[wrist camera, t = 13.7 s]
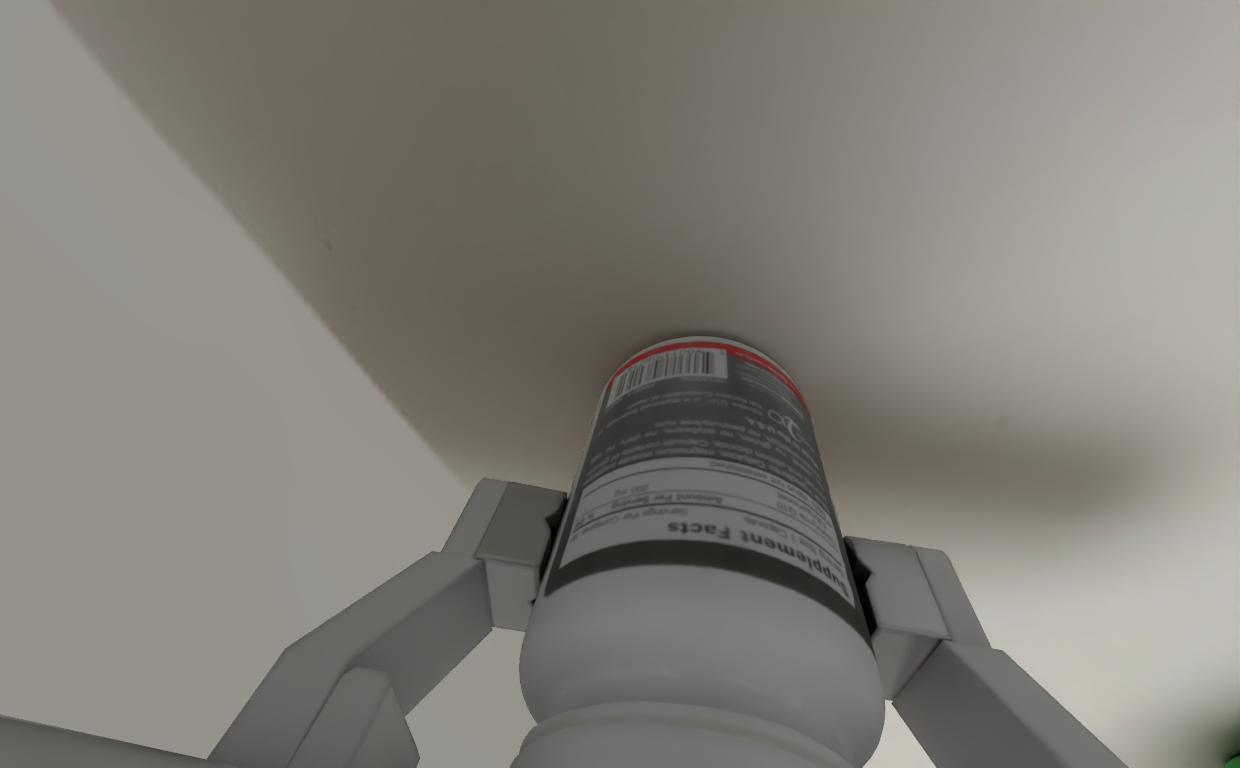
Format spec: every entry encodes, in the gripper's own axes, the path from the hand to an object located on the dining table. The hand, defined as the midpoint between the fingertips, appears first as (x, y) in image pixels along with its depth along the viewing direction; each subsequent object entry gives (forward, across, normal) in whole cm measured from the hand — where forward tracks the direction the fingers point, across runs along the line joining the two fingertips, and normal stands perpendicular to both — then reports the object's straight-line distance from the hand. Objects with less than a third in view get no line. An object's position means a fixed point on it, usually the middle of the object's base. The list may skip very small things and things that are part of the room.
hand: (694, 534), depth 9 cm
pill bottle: (+4, 0, 0) cm, 4 cm away
